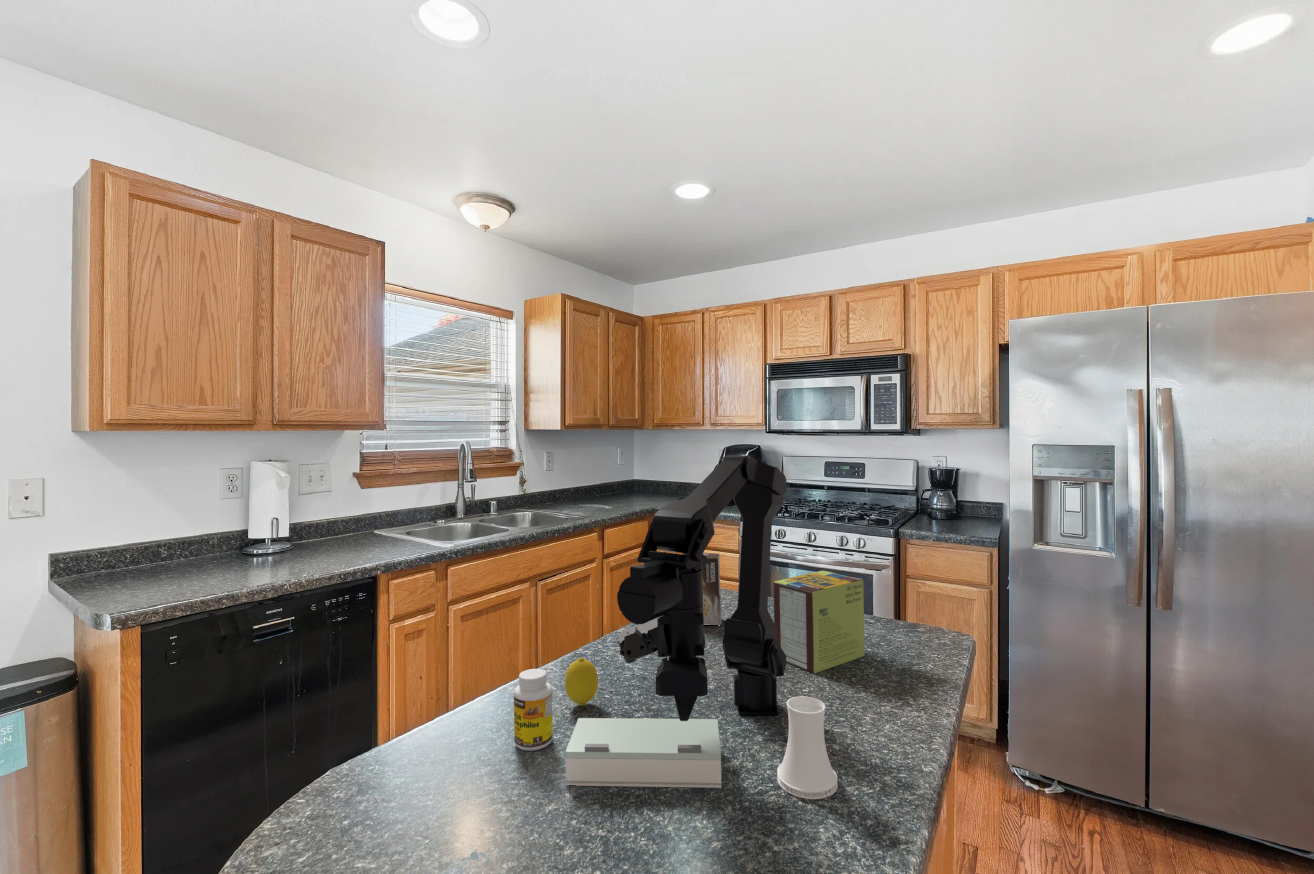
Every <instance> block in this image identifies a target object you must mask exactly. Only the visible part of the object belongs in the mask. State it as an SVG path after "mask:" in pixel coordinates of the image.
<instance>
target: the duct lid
mask: <svg viewBox="0 0 1314 874" xmlns="http://www.w3.org/2000/svg"><path fill="white" fill-rule="evenodd" d="M720 740H721V739H720V730H719V720H718V718H689V720H688V721H680V719H679V718H633V717H632V718H627V717H626V718H623V717H622V718H619V717H618V718H616V717H615V718H614V717H612V718H610V717H607V718H606V717H603V718H602V717H578V718H577V721H576V723H575V726H574V729H573V731H572V734H571V736H570V738H569V742H568V744H567V747H566V750H565V753H564V754H565V759H566V758H607V759H692V760H721V761H722V751H721V741H720Z"/></svg>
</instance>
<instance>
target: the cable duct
mask: <svg viewBox="0 0 1314 874" xmlns="http://www.w3.org/2000/svg"><path fill="white" fill-rule="evenodd" d="M569 785H576V787H580V786H581V787H583V786H584V787H585V786H586V787H588V786H589V787H639V788H640V787H643V788H645V787H652V788H666V787H667V788H712V789H713V788H719V789H720V788H722V759H721V760H692V759H607V758H565V786H569Z"/></svg>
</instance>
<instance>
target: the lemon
mask: <svg viewBox="0 0 1314 874" xmlns="http://www.w3.org/2000/svg"><path fill="white" fill-rule="evenodd" d="M564 679H565V680H564V689H565V692H566V695H567V696H568V698H569V700H571V702H574V703H576V704H577V705H579V706H581V707H583V706H585V705H586V703H589V702H590V701H592V700H593V698H595V696H596V694H597V692H598V688H599V676H598V671H597V668H596V666H595V665H594V663H592V662H591V661H590V660H588V659H585V658H584V657H579V658H578V659H577V660H574V661H573V662H572V663H571V664H570V665H569V666H568V668H567V670H566V672H565V678H564Z"/></svg>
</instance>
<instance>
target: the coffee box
mask: <svg viewBox="0 0 1314 874" xmlns="http://www.w3.org/2000/svg"><path fill="white" fill-rule="evenodd" d="M703 555H705V556H706V557H707V558H708V559H709V563H708V564H707V565H704V566H702V574H703V615H704V624H710V625H721V624H722V621H721V620H722V601H721V600H722V599H721V598H722V597H721V576H720V575H721V572H720V571H721V570H720V567H721V566H720V553H714V552H713V553H712V552H711V553H707V552H706V553H705V552H703Z"/></svg>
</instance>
